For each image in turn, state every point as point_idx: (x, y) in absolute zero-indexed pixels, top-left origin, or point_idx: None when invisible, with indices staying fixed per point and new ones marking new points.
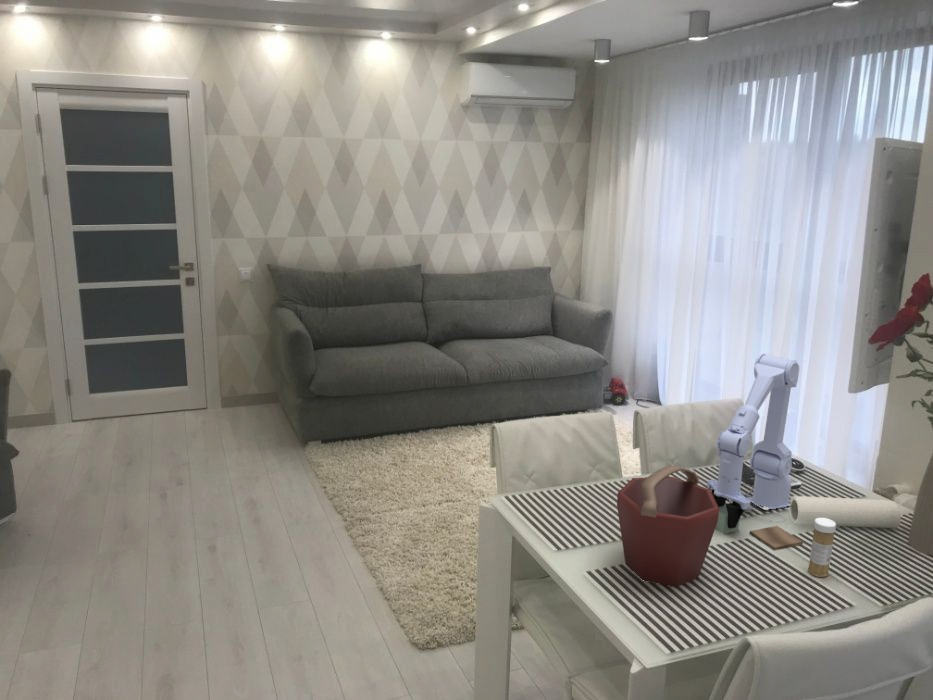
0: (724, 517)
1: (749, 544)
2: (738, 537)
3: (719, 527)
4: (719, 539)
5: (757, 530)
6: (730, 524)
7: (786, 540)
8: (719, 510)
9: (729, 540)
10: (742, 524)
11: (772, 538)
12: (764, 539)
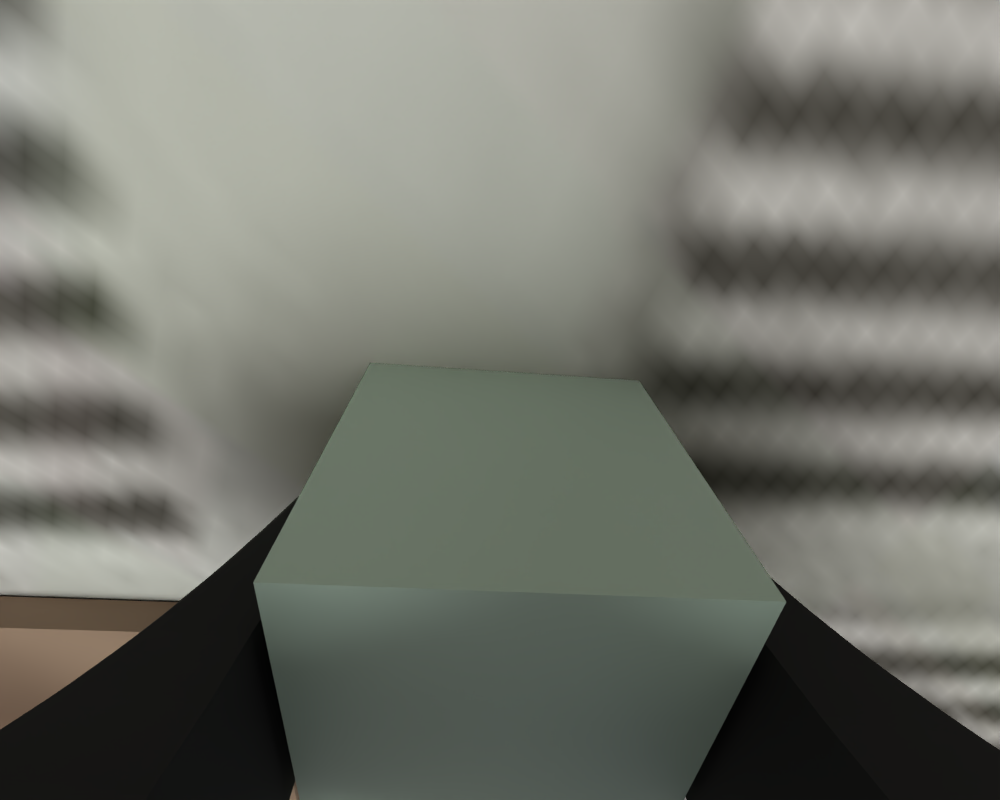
0: (282, 549)
1: (17, 460)
2: (220, 464)
3: (447, 392)
4: (206, 171)
5: None
6: (276, 526)
7: None
8: (579, 652)
9: (152, 302)
10: None
11: None
12: (37, 641)
